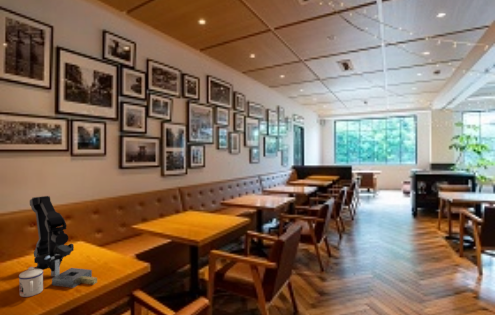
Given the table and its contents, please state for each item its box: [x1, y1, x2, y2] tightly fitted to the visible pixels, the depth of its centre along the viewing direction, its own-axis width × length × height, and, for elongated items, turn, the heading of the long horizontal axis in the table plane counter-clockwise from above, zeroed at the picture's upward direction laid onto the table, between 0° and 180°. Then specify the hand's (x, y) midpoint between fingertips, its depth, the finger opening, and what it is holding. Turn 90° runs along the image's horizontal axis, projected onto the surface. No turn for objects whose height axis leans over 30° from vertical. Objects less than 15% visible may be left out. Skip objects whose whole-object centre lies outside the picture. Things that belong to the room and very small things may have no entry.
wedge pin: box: [50, 259, 61, 277], centre depth 149 cm, size 3×3×8 cm
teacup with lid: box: [18, 266, 44, 298], centre depth 131 cm, size 12×9×12 cm
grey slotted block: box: [51, 267, 98, 289], centre depth 143 cm, size 19×12×4 cm, turn 79°
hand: (55, 270), depth 149 cm, fingers closed on wedge pin, 3 cm apart
